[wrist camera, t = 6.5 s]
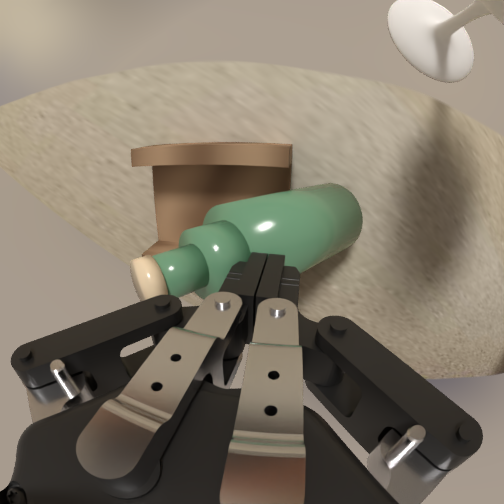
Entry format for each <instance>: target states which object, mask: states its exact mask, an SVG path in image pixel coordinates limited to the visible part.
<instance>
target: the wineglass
mask: <svg viewBox="0 0 504 504" xmlns="http://www.w3.org/2000/svg"><path fill="white" fill-rule="evenodd" d="M489 14H493V15H494V16H495V17H496V18H497V19H498V20H499V21H500V22H501V23H502V24H503V25H504V0H475V1H474V2H473V3H472V4H470V5H469V6H468V7H467V8H465V9H464V10H462V11H461V12H459V13H458V14H456V15H453V14H452V13H451V12H449V11H448V10H447V9H446V8H444V7H443V6H441V5H439V4H438V3H436V2H434V1H431V0H397V1H396V2H394V3H393V4H392V6H391V7H390V9H389V12H388V19H387V22H388V29H389V32H390V35H391V38H392V40H393V42H394V44H395V45H396V47H397V49H398V50H399V52H400V53H401V54H402V55H403V57H404V58H405V59H406V60H407V61H408V62H409V63H410V64H411V65H412V66H413V67H415V68H416V69H417V70H418V71H420V72H421V73H423V74H424V75H426V76H428V77H430V78H432V79H435V80H438V81H442V82H449V83H450V82H458V81H460V80H462V79H464V78H465V77H467V75H468V74H469V73H470V71H471V69H472V67H473V62H474V52H473V47H472V43H471V41H470V38H469V36H468V34H467V32H466V30H465V29H464V27H463V26H464V25H466V24H468V23H469V22H471V21H473V20H475V19H477V18H479V17H482V16H485V15H489Z"/></svg>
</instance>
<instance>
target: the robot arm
mask: <svg viewBox="0 0 504 504" xmlns="http://www.w3.org/2000/svg"><path fill="white" fill-rule="evenodd" d="M299 280H300V272H299V271H298V269H297V268H296V267H294V266H285V255H280V254H269V256H268V253H258V252H252V253H251V255H250V257H249V259H248V261H247V262H243V261H239V262H237V263H236V264H234V265H233V266H232V267H231V269H230V271H229V273H228V274H227V276H226V278H225V280H224V282H223V284H222V286H221V288H220V289H219V291H218V292H216V293H213V294H210V295H209V296H207V297H206V298H205V299H204V301H203V302H202V303H201V305H200V306H191V307H182V304H181V301H180V299H179V298H178V297H176V296H173V295H158V296H155V297H152V298H149V299H147V300H144V301H141V302H138V303H136V304H133V305H130V306H128V307H125V308H122V309H120V310H117V311H114V312H111V313H109V314H106V315H103V316H101V317H98V318H95V319H92V320H90V321H87V322H84V323H81V324H79V325H76V326H73V327H71V328H68V329H65V330H62V331H59V332H57V333H54V334H51V335H48V336H45V337H43V338H40V339H37V340H34V341H31V342H29V343H26V344H24V345H21V346H20V347H18V348H17V349H16V350H15V351H14V353H13V355H12V357H11V365H12V367H13V368H14V370H15V371H16V373H17V374H18V376H19V377H20V379H21V380H22V383H23V385H24V386H25V387H26V389H27V395H28V401H29V407H30V412H31V417H32V422H33V424H31V425H30V426H29V427H28V428H26V430H25V431H24V432H23V434H22V435H21V437H20V439H19V442H18V445H17V453H16V462H15V467H14V472H13V475H12V479H11V481H10V483H9V485H8V486H7V487H6V488H5V489H4V490H2V491H0V504H420V503H421V502H422V501H423V500H424V499H425V498H426V497H427V496H428V495H429V494H430V493H431V492H432V491H433V490H434V489H435V488H436V486H437V485H438V484H439V483H440V482H441V481H442V479H443V478H444V477H445V476H446V475H447V474H449V473H450V472H451V471H453V470H454V469H455V468H457V467H458V466H459V465H460V464H462V463H463V462H464V461H466V460H467V459H468V458H469V457H471V456H472V455H473V454H474V453H475V452H476V451H477V450H478V449H479V448H480V446H481V444H482V440H483V434H482V429H481V427H480V425H479V424H478V422H477V421H476V420H475V419H474V418H472V417H471V416H470V415H469V414H467V413H466V412H465V411H464V410H463V409H461V408H460V407H459V406H458V405H456V404H455V403H454V402H453V401H451V400H450V399H449V398H448V397H447V396H445V395H444V394H443V393H442V392H440V391H439V390H438V389H437V388H435V387H434V386H433V385H432V384H430V383H429V382H428V381H427V380H425V379H424V378H423V377H422V376H420V375H419V374H418V373H417V372H415V371H414V370H413V369H412V368H410V367H409V366H408V365H407V364H405V363H404V362H403V361H402V360H400V359H399V358H398V357H397V356H395V355H394V354H393V353H392V352H390V351H389V350H388V349H387V348H385V347H384V346H383V345H382V344H380V343H379V342H378V341H377V340H375V339H374V338H373V337H372V336H370V335H369V334H368V333H367V332H365V331H364V330H363V329H361V328H360V327H359V326H358V325H356V324H355V323H354V322H353V321H351V320H349V319H348V318H345V317H341V316H328V317H325V318H323V319H321V320H320V321H319V323H317V322H314V321H311V320H309V319H307V318H305V317H304V316H302V315H301V314H300V312H299V311H298V294H299ZM150 336H152V340H153V344H154V345H152V346H150V347H148V348H145V349H143V350H141V351H138V352H136V353H133V354H131V355H129V356H126V357H120V352H121V350H122V349H123V348H124V347H126V346H128V345H130V344H133V343H135V342H138V341H140V340H142V339H145V338H147V337H150ZM245 344H250V345H249V350H248V356H247V362H246V367H245V373H244V378H243V384H242V388H241V389H229V388H230V386H231V384H232V381H233V379H234V377H235V374H236V372H237V370H238V367H239V365H240V362H241V360H242V352H243V350H244V347H245ZM303 379H304V380H305V382H306V386H307V387H308V389H309V390H310V391H311V392H312V393H313V394H314V395H315V397H316V398H317V399H318V400H319V401H320V402H321V403H322V404H323V405H324V406H325V408H326V409H327V410H328V411H329V412H330V413H331V414H332V415H333V416H334V417H335V418H336V419H337V421H338V422H339V423H340V424H341V425H342V426H343V427H344V428H345V429H346V430H347V431H348V432H349V433H350V434H351V436H352V437H353V438H354V439H355V440H356V441H357V442H358V443H359V444H360V445H361V446H362V447H363V448H364V449H365V450H366V451H367V452H368V453H369V457H368V460H367V467H368V470H369V471H368V470H367V468H366V467H365V466H364V465H363V464H362V463H361V462H360V460H359V459H358V458H357V457H356V456H355V455H354V454H353V452H352V451H351V450H350V449H349V448H348V447H347V446H346V444H345V443H344V442H343V441H342V440H341V439H340V437H339V436H338V435H337V434H336V433H335V431H333V429H332V428H331V427H330V426H329V425H328V423H327V422H326V421H325V420H324V419H323V418H322V417H321V416H320V415H319V414H317V413H316V412H315V411H313V410H312V409H310V408H308V407H306V406H304V405H303Z"/></svg>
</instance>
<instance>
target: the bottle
mask: <svg viewBox="0 0 504 504" xmlns="http://www.w3.org/2000/svg"><path fill="white" fill-rule="evenodd" d="M362 223H363V220H362V212H361V208H360V206H359V203H358V201H357V200H356V198H355V197H354V195H353V194H352V193H351V192H350V191H349V190H347V189H346V188H344V187H343V186H341V185H338V184H333V183H328V184H322V185H316V186H310V187H305V188H299V189H294V190H288V191H283V192H278V193H273V194H268V195H263V196H258V197H253V198H248V199H243V200H239V201H234V202H229V203H225V204H220V205H216V206H214V207H212V208H211V209H210V210H209V211H208V212H207V214H206V216H205V218H204V221H203V225H201V226H198V227H194V228H190V229H187V230H185V231H183V232H182V234H181V236H180V238H179V245H178V248H175V249H172V250H169V251H166V252H163V253H159V254H156V255H153V256H151V255H146V256H143V257H140V258H137V259H134V260H131V262H130V272H131V277H132V281H133V284H134V287H135V290H136V293H137V295H138V297H139V299H140V301H144V300H147V299H149V298H152V297H155V296H158V295H173V296H176V297H178V298H179V297H182V296H184V295H187V294H189V293H192V292H195V293H196V294H197V295H198V296H199V297H201V298H202V299H205V298H206V297H207V296H209V295H210V294H213V293H216V292H218V291H219V289H220V288H221V286H222V284H223V282H224V280H225V278H226V276H227V274H228V273H229V271H230V269H231V267H232V266H233V265H234V264H236V263H237V262H239V261H243V262H247V261H248V259H249V257H250V255H251V253H252V252H258V253H268V256H269V254H280V255H285V266H294V267H296V268H297V269H298V271H299V272H300V273H302V272H304V271H306V270H308V269H310V268H312V267H313V266H315V265H317V264H319V263H321V262H323V261H324V260H326V259H328V258H330V257H332V256H334V255H335V254H337V253H339V252H341V251H342V250H344V249H346V248H348V247H350V246H351V245H352V244H353V243H355V241H356V240H357V239H358V237H359V235H360V233H361V229H362Z"/></svg>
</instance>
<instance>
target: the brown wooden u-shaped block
mask: <svg viewBox="0 0 504 504" xmlns="http://www.w3.org/2000/svg"><path fill="white" fill-rule="evenodd" d="M131 160H132V167H135V166H152V170H153V186H154V199H155V210H156V220H157V230H158V239H159V241H157V242H156V243H155V244H154V245H153V246H151V247H150V248H149V249H148V250H147V251H145V252H144V253H143V254H142V257H143V256H146V255H151V256H153V255H156V254H159V253H163V252H166V251H169V250H172V249H175V248H178V245H179V238H180V236H181V234H182V232H183V231H185V230H187V229H190V228H194V227H198V226H201V225H203V221H204V218H205V216H206V214H207V212H208V211H209V210H210V209H211V208H212V207H214V206H216V205H220V204H225V203H229V202H234V201H239V200H243V199H248V198H253V197H258V196H263V195H268V194H273V193H278V192H283V191H288V190H290V183H291V162H292V144H275V143H244V142H212V143H181V144H164V145H153V146H147V147H141V148H136V149H131Z"/></svg>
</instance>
